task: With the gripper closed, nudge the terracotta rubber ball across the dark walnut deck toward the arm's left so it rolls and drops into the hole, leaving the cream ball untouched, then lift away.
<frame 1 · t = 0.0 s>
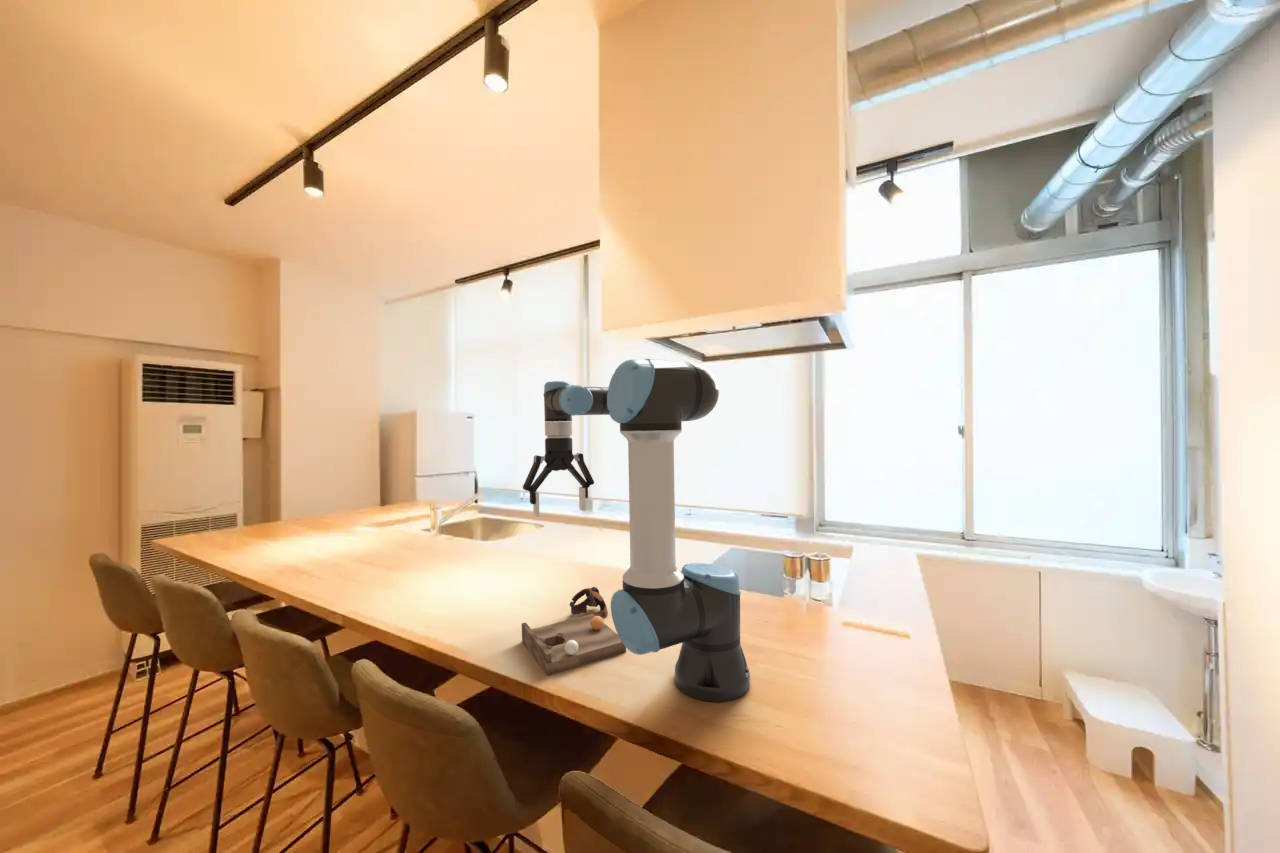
hand: (560, 513, 130), 28 cm above the worktop, fingers open, 13 cm apart
cream ball: (571, 647, 102), point 4 cm above the worktop, touching deck
ball: (597, 622, 114), point 4 cm above the worktop, touching deck
deck: (572, 646, 111), on the worktop
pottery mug: (590, 615, 129), on the worktop
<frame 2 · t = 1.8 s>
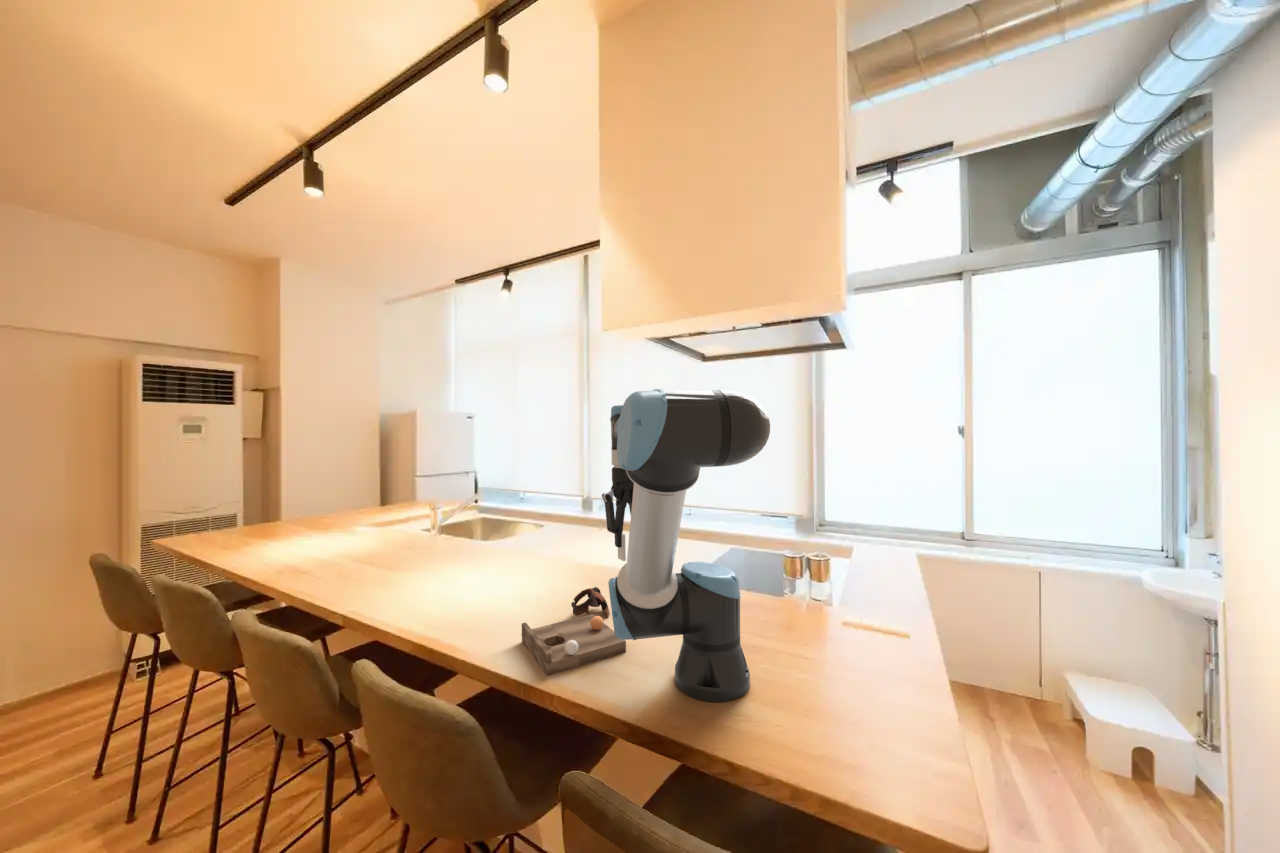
hand: (628, 558, 118), 19 cm above the worktop, fingers open, 3 cm apart
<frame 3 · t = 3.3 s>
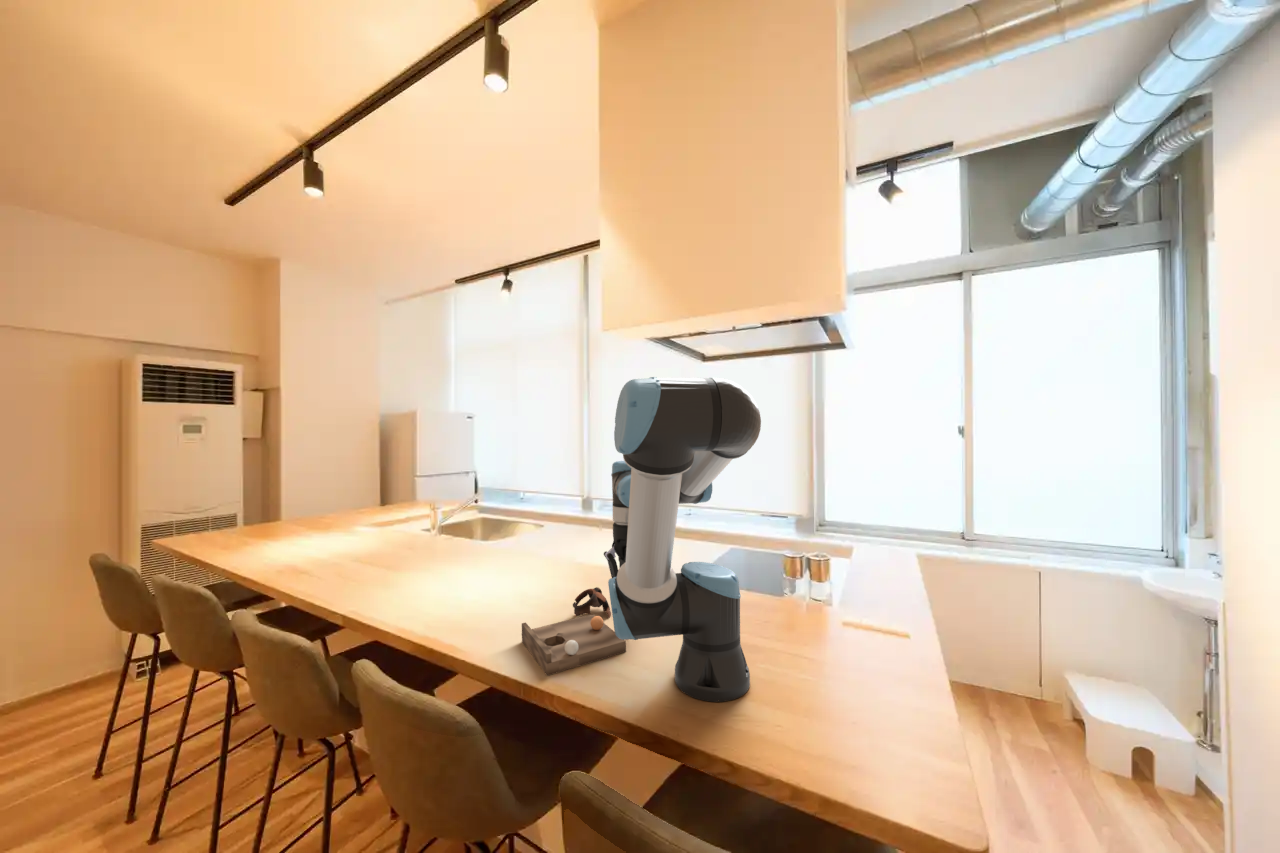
hand: (628, 613, 119), 4 cm above the worktop, fingers closed
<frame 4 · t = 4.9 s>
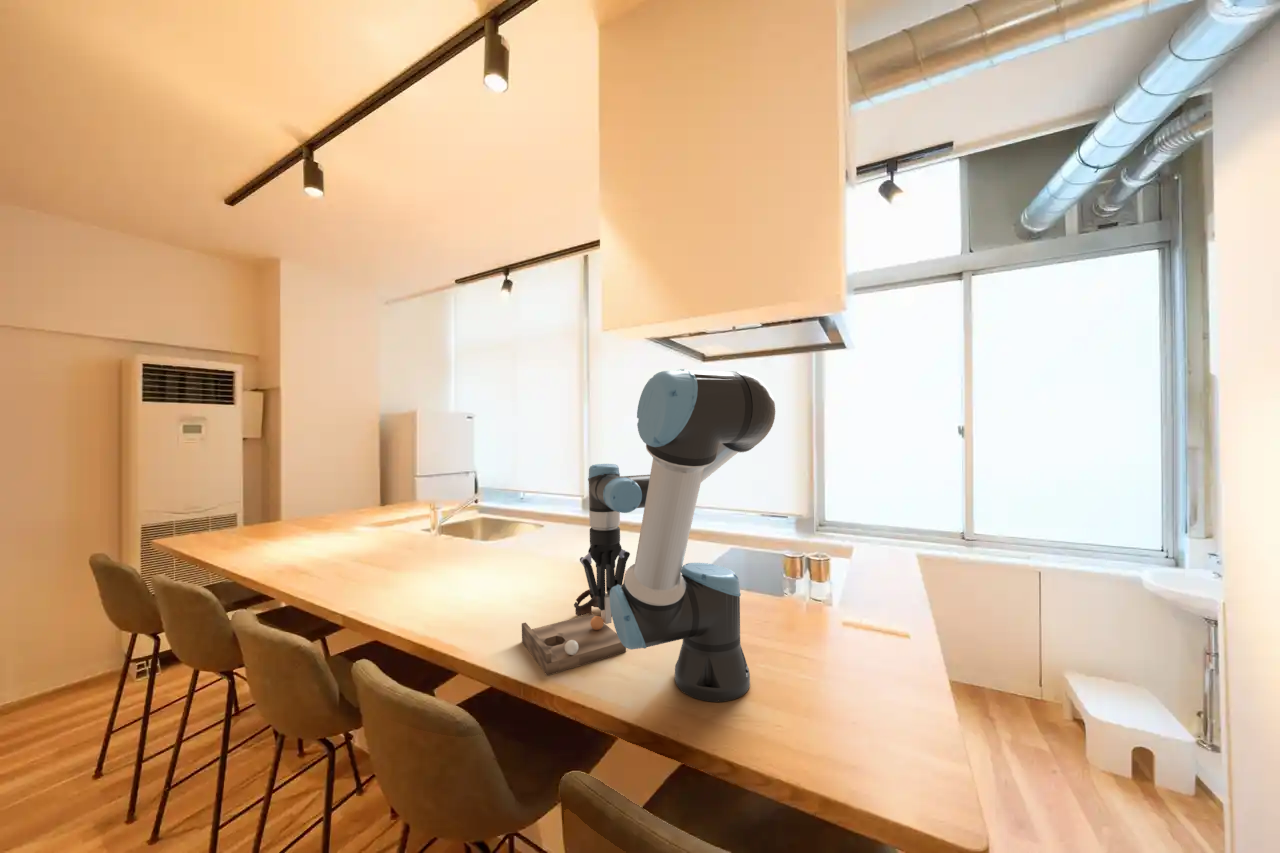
hand: (606, 621, 115), 4 cm above the worktop, fingers closed
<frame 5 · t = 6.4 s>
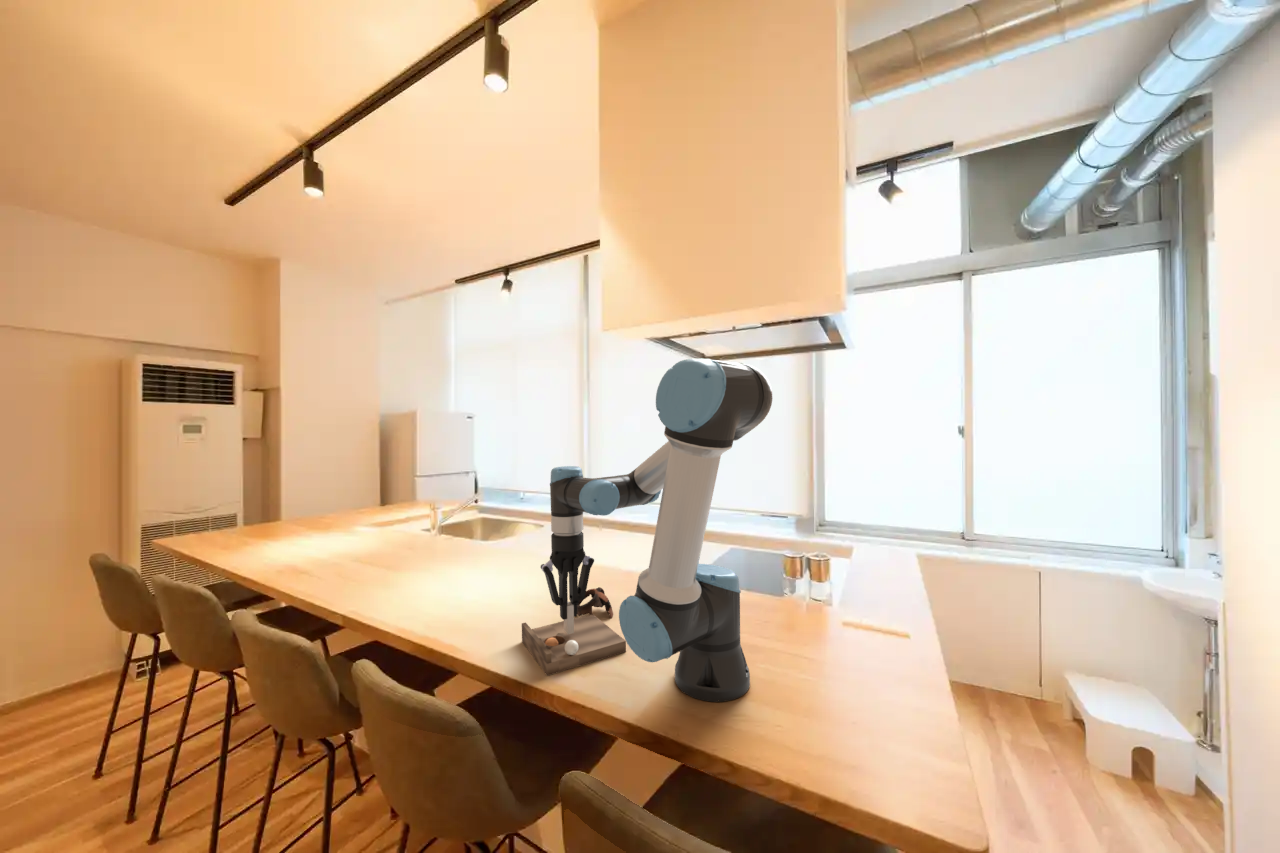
hand: (569, 631, 110), 4 cm above the worktop, fingers closed
ball: (551, 645, 108), point 2 cm above the worktop, tilted 88°
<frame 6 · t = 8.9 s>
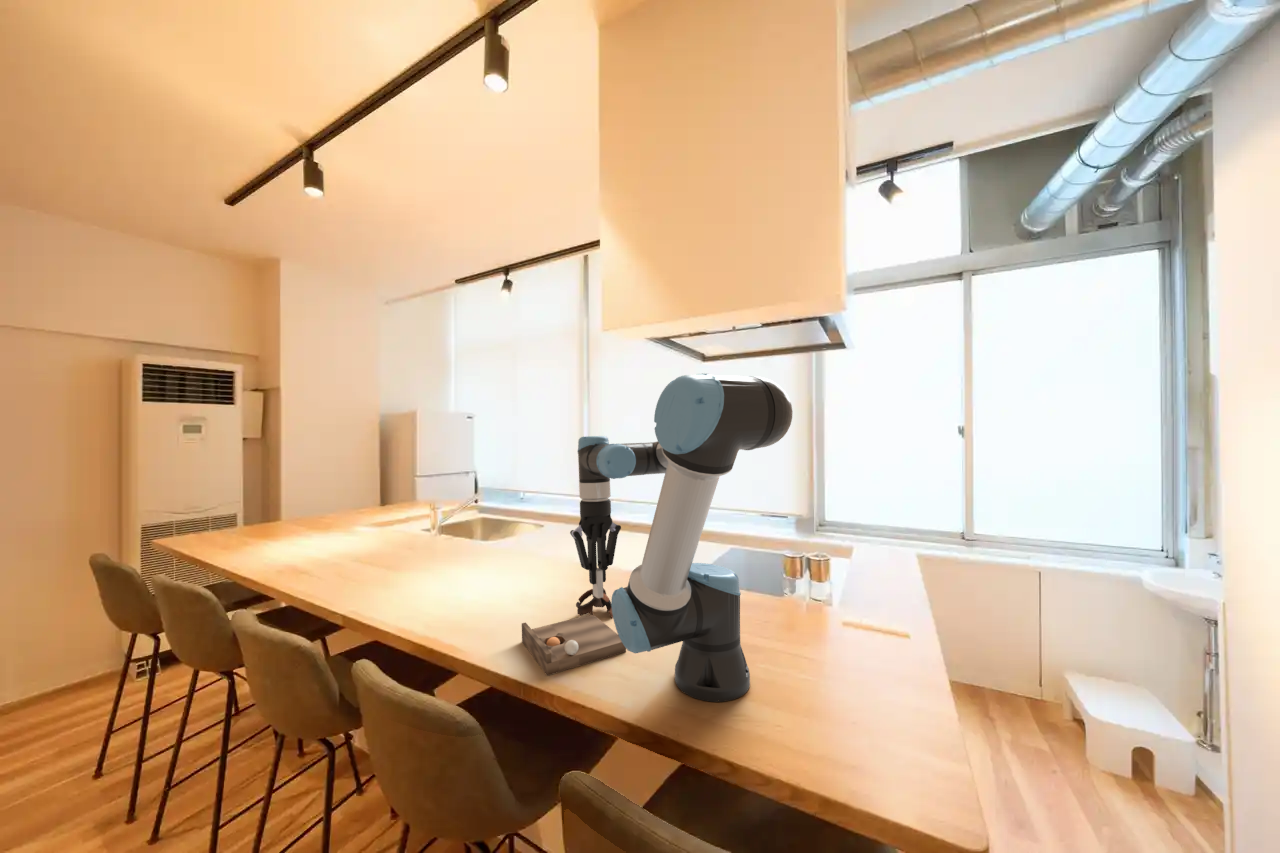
hand: (598, 596, 113), 11 cm above the worktop, fingers closed
ball: (553, 644, 108), point 2 cm above the worktop, tilted 72°
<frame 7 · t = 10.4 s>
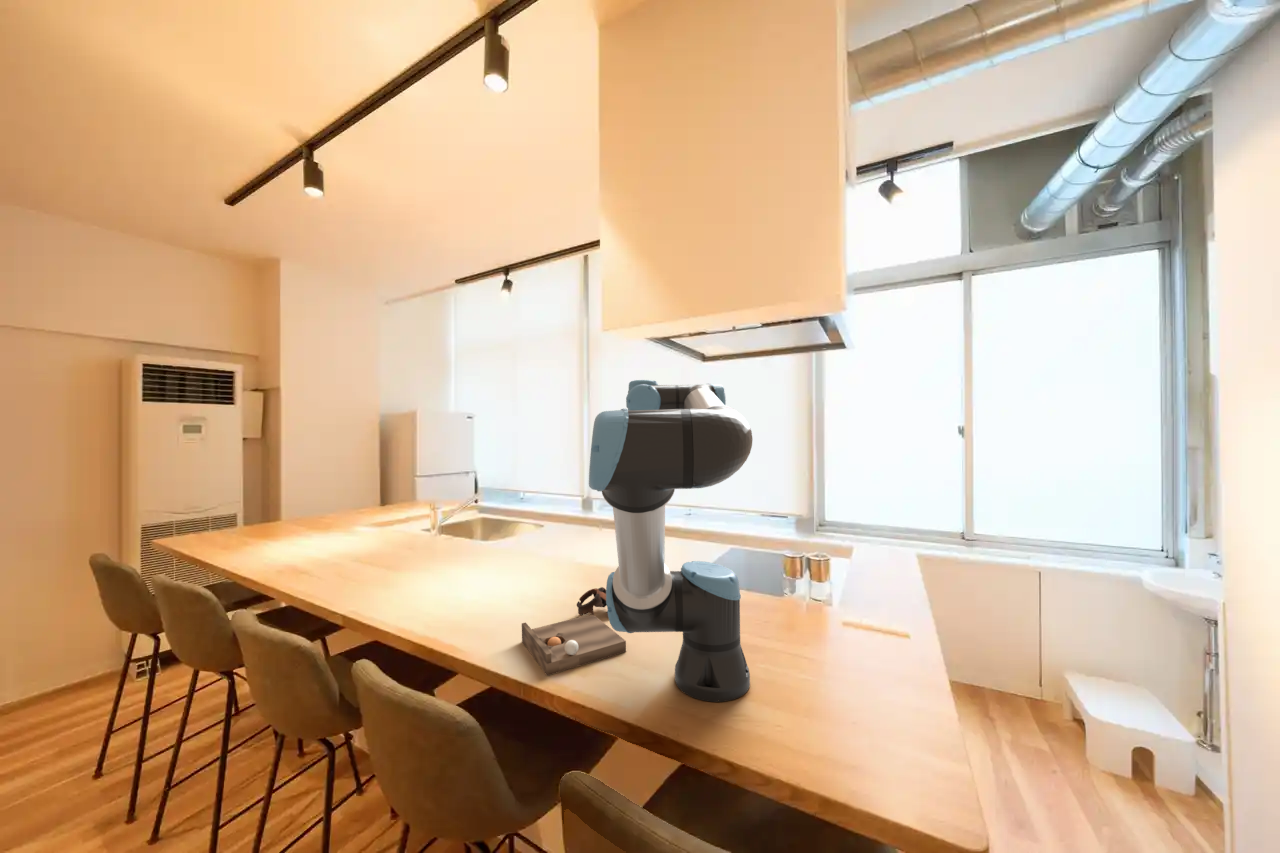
hand: (645, 536, 116), 24 cm above the worktop, fingers closed
ball: (554, 644, 109), point 2 cm above the worktop, tilted 62°
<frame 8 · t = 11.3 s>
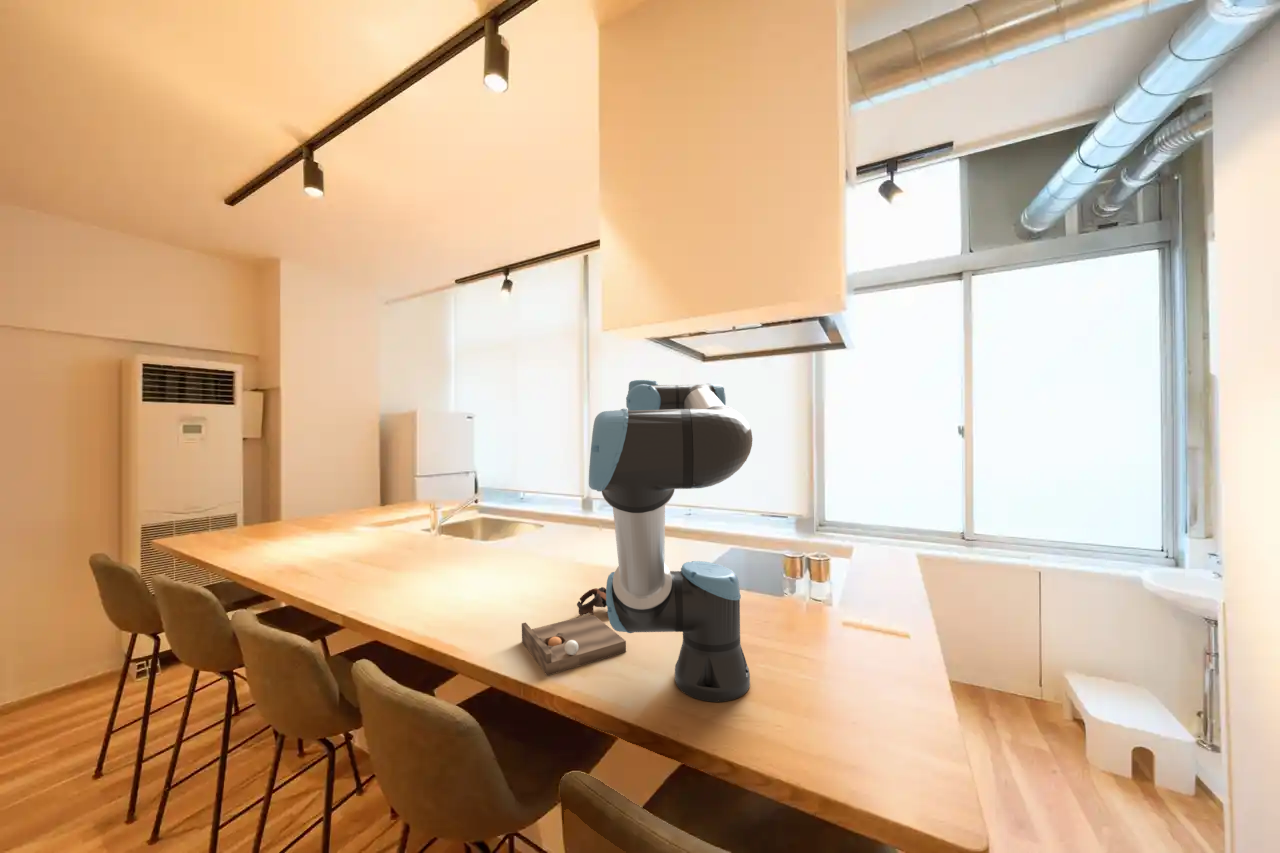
hand: (645, 536, 116), 24 cm above the worktop, fingers closed
ball: (555, 644, 109), point 2 cm above the worktop, tilted 57°
at the end: ball 0.4 cm from the target spot in the deck, point 1.6 cm above the deck's base; cream ball moved 0.1 cm from its start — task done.
